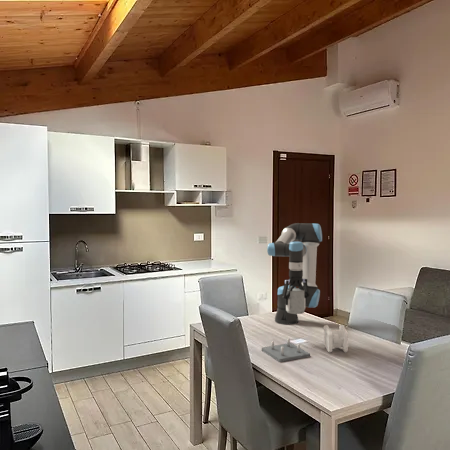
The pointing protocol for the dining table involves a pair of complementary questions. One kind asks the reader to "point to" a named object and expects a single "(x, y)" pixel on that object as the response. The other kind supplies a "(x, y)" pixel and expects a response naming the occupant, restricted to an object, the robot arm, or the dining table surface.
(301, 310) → the gray cylinder
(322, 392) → the dining table surface
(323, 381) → the dining table surface
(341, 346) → the cable organizer
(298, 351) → the pin tray
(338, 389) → the dining table surface
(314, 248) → the robot arm
